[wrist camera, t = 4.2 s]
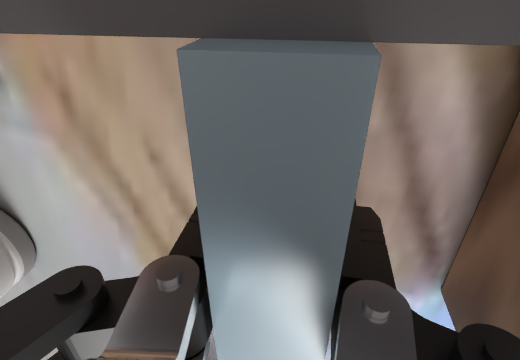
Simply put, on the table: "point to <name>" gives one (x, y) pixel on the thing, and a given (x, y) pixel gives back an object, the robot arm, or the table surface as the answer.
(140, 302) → the robot arm
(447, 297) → the wooden box lid
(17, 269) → the travel mug
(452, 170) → the table surface
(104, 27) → the scraper
